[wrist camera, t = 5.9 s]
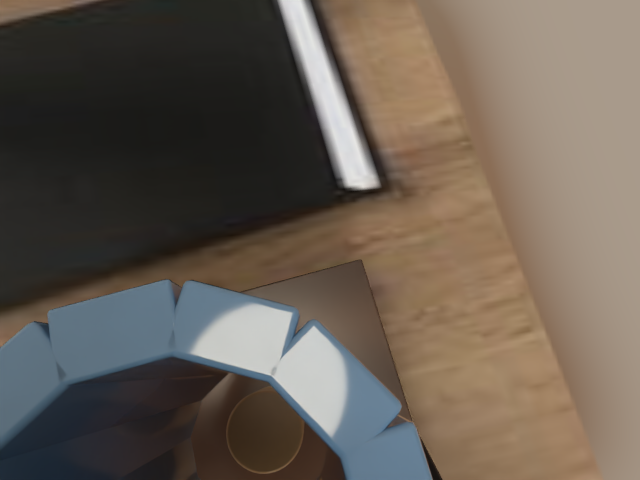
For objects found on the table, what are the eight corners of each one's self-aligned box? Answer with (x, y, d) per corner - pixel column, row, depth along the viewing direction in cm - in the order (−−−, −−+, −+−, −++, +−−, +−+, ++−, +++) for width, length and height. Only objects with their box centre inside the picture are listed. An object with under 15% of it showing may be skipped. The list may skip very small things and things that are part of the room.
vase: (380, 509, 13) (555, 861, 4) (184, 574, 13) (-182, 1172, 3) (326, 317, 15) (355, 227, 5) (149, 367, 14) (-169, 365, 5)
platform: (428, 504, 20) (477, 561, 14) (182, 585, 19) (125, 683, 13) (356, 270, 23) (371, 237, 17) (139, 329, 22) (76, 316, 16)
